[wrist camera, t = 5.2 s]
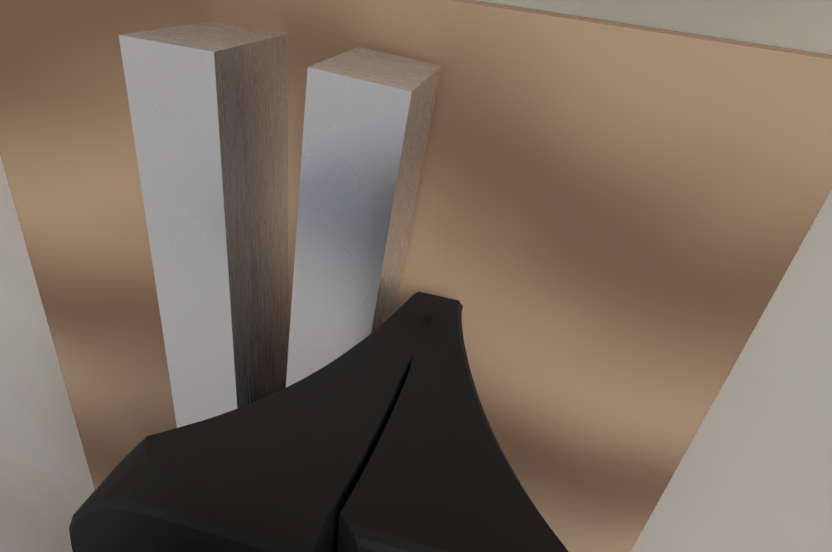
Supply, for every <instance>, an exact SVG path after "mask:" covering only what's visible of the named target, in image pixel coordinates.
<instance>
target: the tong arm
mask: <svg viewBox="0 0 832 552" xmlns="http://www.w3.org/2000/svg"><path fill="white" fill-rule="evenodd" d="M441 68H442V66H441V65H436V64H432V63H428V62H423V61H419V60H415V59H410V58H406V57H402V56H397V55H393V54H389V53H384V52H380V51H376V50H371V49H367V48H363V47H357V48H355V49H352V50H350V51H347V52H345V53H342V54H339V55H337V56H334V57H332V58H329V59H327V60H324V61H322V62H319V63H317V64H314V65H311V66H309V67H308V68H307V83H306V97H305V112H304V127H303V142H302V156H301V171H300V186H299V200H298V215H297V230H296V244H295V259H294V274H293V288H292V303H291V318H290V333H289V347H288V362H287V377H286V387H288V386H290V385H292V384H294V383H296V382H298V381H300V380H302V379H304V378H305V377H307V376H309V375H311V374H312V373H314V372H316V371H318V370H319V369H321V368H323V367H324V366H326V365H327V364H329V363H331V362H332V361H334V360H335V359H337V358H338V357H340V356H341V355H342V354H344V353H345V352H347V351H348V350H349V349H351V348H352V347H354V346H355V345H356V344H358V343H359V342H360V341H362V340H363V339H364V338H366V337H367V336H368V335H369V334H371V333H372V332H373V331H374V330H375V329H377V328H378V327H379V326H380V325H381V324H383V323H384V322H385V321H386V320H387V319H388V318H390V317H391V316H392V315H393V314H394V312H395V307H396V302H397V296H398V291H399V286H400V281H401V276H402V270H403V265H404V260H405V255H406V250H407V244H408V239H409V234H410V229H411V224H412V218H413V213H414V208H415V203H416V198H417V192H418V187H419V182H420V177H421V172H422V166H423V161H424V156H425V151H426V146H427V140H428V135H429V130H430V125H431V120H432V114H433V109H434V104H435V99H436V94H437V88H438V83H439V78H440V73H441Z"/></svg>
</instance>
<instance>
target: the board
mask: <svg viewBox="0 0 832 552" xmlns="http://www.w3.org/2000/svg"><path fill="white" fill-rule="evenodd" d="M210 21H214V22H220V23H226V24H232V25H238V26H244V27H250V28H256V29H262V30H267V31H273V32H279V33H285V34H288V347H289V333H290V318H291V303H292V288H293V274H294V259H295V244H296V230H297V215H298V200H299V186H300V171H301V156H302V142H303V127H304V112H305V97H306V83H307V68H308V67H309V66H311V65H314V64H317V63H319V62H322V61H324V60H327V59H329V58H332V57H334V56H337V55H339V54H342V53H345V52H347V51H350V50H352V49H355V48H357V47H363V48H367V49H371V50H376V51H380V52H384V53H389V54H393V55H397V56H402V57H406V58H410V59H415V60H419V61H423V62H428V63H432V64H436V65H441V66H442V68H441V73H440V78H439V83H438V88H437V94H436V99H435V104H434V109H433V114H432V120H431V125H430V130H429V135H428V140H427V146H426V151H425V156H424V161H423V166H422V172H421V177H420V182H419V187H418V192H417V198H416V203H415V208H414V213H413V218H412V224H411V229H410V234H409V239H408V244H407V250H406V255H405V260H404V265H403V270H402V276H401V281H400V286H399V291H398V296H397V302H396V307H395V312H396V311H397V310H398V309H399V308H400V307H401V306H402V305H403V304H404V303H405V302H406V301H407V300H408V299H409V298H410V297H411V296H412V295H413V294H415V293H417V292H418V291H419V292H424V293H428V294H433V295H437V296H441V297H446V298H450V299H455V300H459V301H460V303H461V304H462V305H463V309H462V330H463V338H464V344H465V349H466V354H467V358H468V363H469V367H470V370H471V374H472V378H473V381H474V384H475V387H476V390H477V393H478V396H479V399H480V402H481V405H482V407H483V410H484V412H485V415H486V417H487V419H488V422H489V424H490V427H491V429H492V431H493V433H494V435H495V437H496V439H497V441H498V444H499V446H500V448H501V450H502V451H503V453H504V455H505V457H506V458H507V460H508V462H509V464H510V466H511V467H512V469H513V471H514V473H515V474H516V476H517V478H518V480H519V481H520V483H521V485H522V487H523V488H524V490H525V491H526V493H527V494H528V496H529V497H530V499H531V500H532V502H533V504H534V505H535V507H536V508H537V510H538V511H539V513H540V514H541V515H542V517H543V518H544V520H545V521H546V522H547V524H548V525H549V527H550V528H551V529H552V530H553V532H554V533H555V534H556V536H557V537H558V538H559V540H560V541H561V542H562V543H563V545H564V546H565V547H566V549H567V550H568V551H569V552H630V551H631V550H632V548H633V546H634V544H635V542H636V541H637V539H638V537H639V535H640V533H641V532H642V530H643V528H644V526H645V524H646V523H647V521H648V519H649V517H650V515H651V514H652V512H653V510H654V508H655V506H656V505H657V503H658V501H659V499H660V497H661V496H662V494H663V492H664V490H665V488H666V487H667V485H668V483H669V481H670V479H671V478H672V476H673V474H674V472H675V470H676V469H677V467H678V465H679V463H680V461H681V460H682V458H683V456H684V454H685V452H686V451H687V449H688V447H689V445H690V443H691V442H692V440H693V438H694V436H695V434H696V433H697V431H698V429H699V427H700V425H701V424H702V422H703V420H704V418H705V416H706V415H707V413H708V411H709V409H710V407H711V406H712V404H713V402H714V400H715V398H716V397H717V395H718V393H719V391H720V389H721V388H722V386H723V384H724V382H725V380H726V379H727V377H728V375H729V373H730V371H731V370H732V368H733V366H734V364H735V362H736V361H737V359H738V357H739V355H740V353H741V352H742V350H743V348H744V346H745V344H746V343H747V341H748V339H749V337H750V335H751V334H752V332H753V330H754V328H755V326H756V325H757V323H758V321H759V319H760V317H761V316H762V314H763V312H764V310H765V308H766V307H767V305H768V303H769V301H770V299H771V298H772V296H773V294H774V292H775V290H776V289H777V287H778V285H779V283H780V281H781V280H782V278H783V276H784V274H785V272H786V271H787V269H788V267H789V265H790V263H791V262H792V260H793V258H794V256H795V254H796V253H797V251H798V249H799V247H800V245H801V244H802V242H803V240H804V238H805V236H806V235H807V233H808V231H809V229H810V227H811V226H812V224H813V222H814V220H815V218H816V217H817V215H818V213H819V211H820V209H821V208H822V206H823V204H824V202H825V200H826V199H827V197H828V195H829V193H830V191H831V190H832V55H826V54H820V53H813V52H807V51H800V50H794V49H787V48H781V47H774V46H768V45H761V44H755V43H748V42H742V41H735V40H729V39H722V38H716V37H709V36H703V35H696V34H690V33H683V32H677V31H670V30H664V29H657V28H651V27H644V26H638V25H631V24H625V23H618V22H612V21H605V20H599V19H592V18H586V17H579V16H573V15H566V14H560V13H553V12H547V11H540V10H534V9H527V8H521V7H514V6H508V5H501V4H495V3H488V2H482V1H475V0H0V155H1V158H2V162H3V165H4V169H5V173H6V176H7V180H8V183H9V187H10V190H11V194H12V197H13V201H14V204H15V208H16V211H17V215H18V219H19V222H20V226H21V229H22V233H23V236H24V240H25V243H26V247H27V250H28V254H29V257H30V261H31V264H32V268H33V272H34V275H35V279H36V282H37V286H38V289H39V293H40V296H41V300H42V303H43V307H44V310H45V314H46V318H47V321H48V325H49V328H50V332H51V335H52V339H53V342H54V346H55V349H56V353H57V356H58V360H59V364H60V367H61V371H62V374H63V378H64V381H65V385H66V388H67V392H68V395H69V399H70V402H71V406H72V410H73V413H74V417H75V420H76V424H77V427H78V431H79V434H80V438H81V441H82V445H83V448H84V452H85V456H86V459H87V463H88V466H89V470H90V473H91V477H92V480H93V484H94V487H95V490H96V489H97V488H98V486H99V485H100V484H101V483H102V482H103V481H104V479H105V478H106V477H107V476H108V475H109V474H110V473H111V471H112V470H113V469H114V468H115V467H116V466H117V465H118V464H119V463H120V462H121V461H122V459H123V458H124V457H125V456H126V455H127V454H129V453H130V452H131V451H132V450H133V449H134V448H135V447H136V446H137V445H138V444H139V443H140V442H141V441H142V440H143V439H144V438H145V437H146V436H149V435H153V434H157V433H161V432H164V431H168V430H171V429H175V428H177V424H176V418H175V411H174V404H173V398H172V391H171V384H170V377H169V371H168V364H167V357H166V351H165V344H164V337H163V330H162V324H161V317H160V310H159V303H158V297H157V290H156V283H155V277H154V270H153V263H152V256H151V250H150V243H149V236H148V230H147V223H146V216H145V209H144V203H143V196H142V189H141V182H140V176H139V169H138V162H137V156H136V149H135V142H134V135H133V129H132V122H131V115H130V109H129V102H128V95H127V88H126V82H125V75H124V68H123V61H122V55H121V48H120V41H119V35H122V34H129V33H136V32H142V31H149V30H156V29H163V28H169V27H176V26H183V25H190V24H196V23H203V22H210ZM395 312H394V313H395Z"/></svg>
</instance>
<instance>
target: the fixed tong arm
mask: <svg viewBox="0 0 832 552" xmlns="http://www.w3.org/2000/svg"><path fill="white" fill-rule="evenodd" d="M119 41H120V48H121V55H122V61H123V68H124V75H125V82H126V88H127V95H128V102H129V109H130V115H131V122H132V129H133V135H134V142H135V149H136V156H137V162H138V169H139V176H140V182H141V189H142V196H143V203H144V209H145V216H146V223H147V230H148V236H149V243H150V250H151V256H152V263H153V270H154V277H155V283H156V290H157V297H158V303H159V310H160V317H161V324H162V330H163V337H164V344H165V351H166V357H167V364H168V371H169V377H170V384H171V391H172V398H173V404H174V411H175V418H176V424H177V428H178V427H182V426H185V425H189V424H192V423H196V422H199V421H203V420H206V419H209V418H212V417H215V416H218V415H221V414H224V413H226V412H229V411H232V410H235V409H238V408H240V407H243V406H245V405H248V404H250V403H253V402H255V401H258V400H260V399H263V398H265V397H267V396H269V395H271V394H274V393H276V392H278V391H280V390H282V389H284V388H286V377H287V362H288V34H285V33H279V32H273V31H267V30H262V29H256V28H250V27H244V26H238V25H232V24H226V23H220V22H214V21H210V22H203V23H196V24H190V25H183V26H176V27H169V28H163V29H156V30H149V31H142V32H136V33H129V34H122V35H119Z"/></svg>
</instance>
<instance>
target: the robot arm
mask: <svg viewBox="0 0 832 552" xmlns="http://www.w3.org/2000/svg"><path fill="white" fill-rule="evenodd" d="M462 309H463V305H462V304H461V303H460V301H459V300H455V299H450V298H446V297H441V296H437V295H433V294H428V293H424V292H419V291H418V292H417V293H415V294H413V295H412V296H411V297H410V298H409V299H408V300H407V301H406V302H405V303H404V304H403V305H402V306H401V307H400V308H399V309H398V310H397V311H396V312H395V313H394V314H393V315H392V316H391V317H390V318H388V319H387V320H386V321H385V322H384V323H383V324H381V325H380V326H379V327H378V328H377V329H375V330H374V331H373V332H372V333H371V334H369V335H368V336H367V337H366V338H364V339H363V340H362V341H360V342H359V343H358V344H356V345H355V346H354V347H352V348H351V349H349V350H348V351H347V352H345V353H344V354H342V355H341V356H340V357H338V358H337V359H335V360H334V361H332V362H331V363H329V364H327V365H326V366H324V367H323V368H321V369H319V370H318V371H316V372H314V373H312V374H311V375H309V376H307V377H305V378H304V379H302V380H300V381H298V382H296V383H294V384H292V385H290V386H288V387H286V388H284V389H282V390H280V391H278V392H276V393H274V394H271V395H269V396H267V397H265V398H263V399H260V400H258V401H255V402H253V403H250V404H248V405H245V406H243V407H240V408H238V409H235V410H232V411H229V412H226V413H224V414H221V415H218V416H215V417H212V418H209V419H206V420H203V421H199V422H196V423H192V424H189V425H185V426H182V427H178V428H175V429H171V430H168V431H164V432H161V433H157V434H153V435H149V436H146V437H145V438H144V439H143V440H142V441H141V442H140V443H139V444H138V445H137V446H136V447H135V448H134V449H133V450H132V451H131V452H130V453H129V454H127V455H126V456H125V457H124V458H123V459H122V461H121V462H120V463H119V464H118V465H117V466H116V467H115V468H114V469H113V470H112V471H111V473H110V474H109V475H108V476H107V477H106V478H105V479H104V481H103V482H102V483H101V484H100V485H99V486H98V488H97V489H96V490H95V491H94V492H93V493H92V494H91V496H90V497H89V498H88V499H87V500H86V501H85V502H84V504H83V505H82V506H81V507H80V508H79V509H78V510H77V512H76V513H75V514H74V515H73V518H72V521H71V524H70V527H69V531H70V538H71V544H72V550H73V552H569V551H568V550H567V549H566V547H565V546H564V545H563V543H562V542H561V541H560V540H559V538H558V537H557V536H556V534H555V533H554V532H553V530H552V529H551V528H550V527H549V525H548V524H547V522H546V521H545V520H544V518H543V517H542V515H541V514H540V513H539V511H538V510H537V508H536V507H535V505H534V504H533V502H532V500H531V499H530V497H529V496H528V494H527V493H526V491H525V490H524V488H523V487H522V485H521V483H520V481H519V480H518V478H517V476H516V474H515V473H514V471H513V469H512V467H511V466H510V464H509V462H508V460H507V458H506V457H505V455H504V453H503V451H502V450H501V448H500V446H499V444H498V441H497V439H496V437H495V435H494V433H493V431H492V429H491V427H490V424H489V422H488V419H487V417H486V415H485V412H484V410H483V407H482V405H481V402H480V399H479V396H478V393H477V390H476V387H475V384H474V381H473V378H472V374H471V370H470V367H469V363H468V358H467V354H466V349H465V344H464V338H463V330H462Z"/></svg>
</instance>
